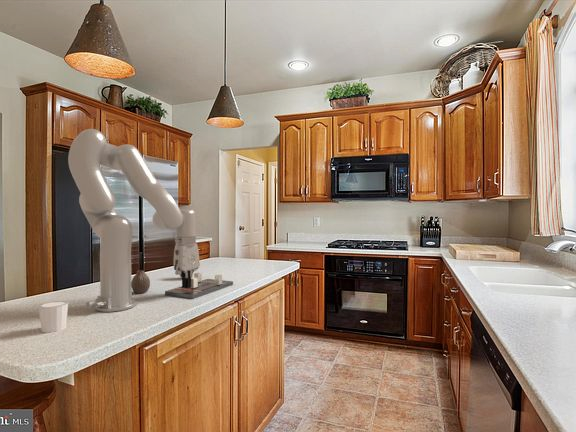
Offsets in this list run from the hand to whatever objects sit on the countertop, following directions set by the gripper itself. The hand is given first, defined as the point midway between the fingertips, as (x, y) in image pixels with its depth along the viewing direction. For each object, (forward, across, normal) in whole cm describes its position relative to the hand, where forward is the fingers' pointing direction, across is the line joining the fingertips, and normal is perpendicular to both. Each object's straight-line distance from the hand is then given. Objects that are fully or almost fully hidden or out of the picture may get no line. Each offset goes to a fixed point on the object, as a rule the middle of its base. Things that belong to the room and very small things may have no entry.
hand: (186, 287), depth 132 cm
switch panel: (+3, +9, 0) cm, 9 cm away
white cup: (+3, -45, +7) cm, 46 cm away
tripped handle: (+1, +4, 0) cm, 4 cm away
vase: (+3, -5, +19) cm, 20 cm away
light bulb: (+3, +25, +20) cm, 32 cm away
